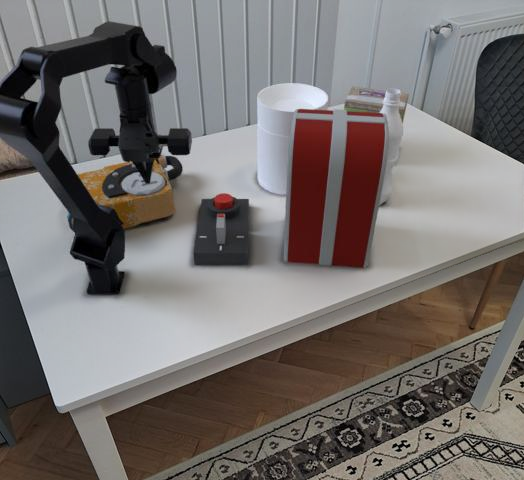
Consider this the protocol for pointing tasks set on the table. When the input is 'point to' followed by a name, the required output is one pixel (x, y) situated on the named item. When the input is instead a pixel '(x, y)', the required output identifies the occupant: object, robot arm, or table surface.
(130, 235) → the table surface
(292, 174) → the wrapped gift box
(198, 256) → the panel
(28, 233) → the table surface
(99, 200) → the device
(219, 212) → the button block
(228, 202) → the power button
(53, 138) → the robot arm
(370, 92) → the tea box
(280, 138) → the canister
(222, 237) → the grey rectangular block
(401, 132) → the water bottle
